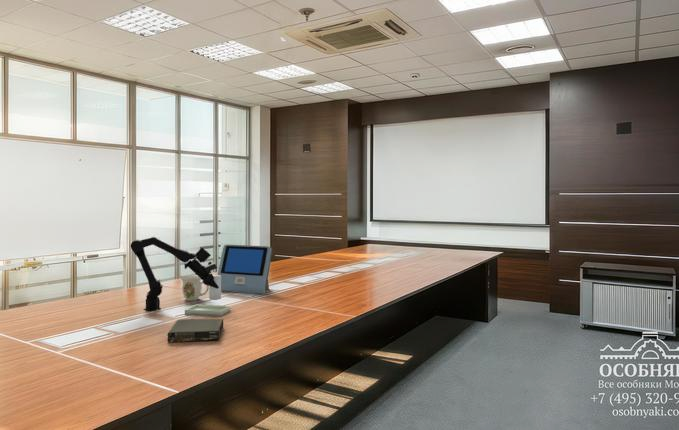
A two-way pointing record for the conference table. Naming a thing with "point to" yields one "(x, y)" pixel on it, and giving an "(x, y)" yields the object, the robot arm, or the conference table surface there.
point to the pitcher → (192, 287)
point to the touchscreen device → (245, 268)
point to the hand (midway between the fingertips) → (217, 286)
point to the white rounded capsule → (215, 289)
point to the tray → (207, 310)
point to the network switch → (195, 330)
